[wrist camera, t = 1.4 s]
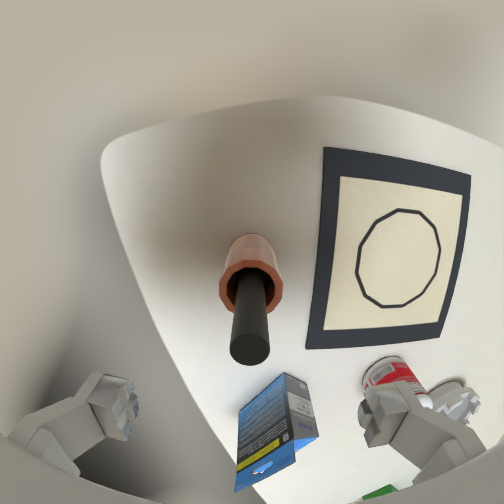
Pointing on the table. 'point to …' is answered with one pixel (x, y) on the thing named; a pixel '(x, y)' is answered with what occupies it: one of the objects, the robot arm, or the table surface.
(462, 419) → the flag stand
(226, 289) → the pen cup
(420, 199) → the desk mat
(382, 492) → the hardback book
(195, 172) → the table surface
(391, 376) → the pill bottle
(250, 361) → the marker
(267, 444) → the blue retail box
